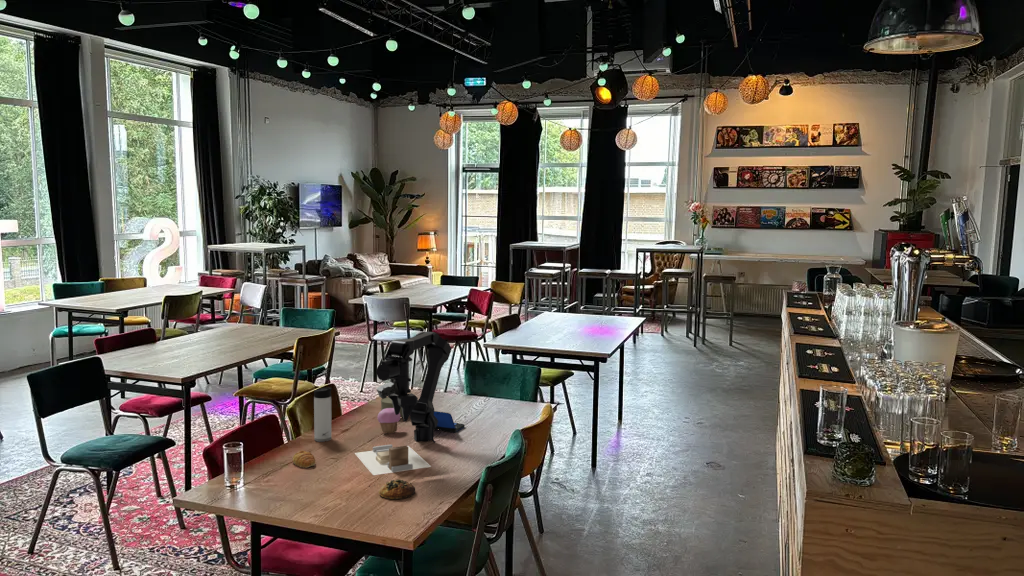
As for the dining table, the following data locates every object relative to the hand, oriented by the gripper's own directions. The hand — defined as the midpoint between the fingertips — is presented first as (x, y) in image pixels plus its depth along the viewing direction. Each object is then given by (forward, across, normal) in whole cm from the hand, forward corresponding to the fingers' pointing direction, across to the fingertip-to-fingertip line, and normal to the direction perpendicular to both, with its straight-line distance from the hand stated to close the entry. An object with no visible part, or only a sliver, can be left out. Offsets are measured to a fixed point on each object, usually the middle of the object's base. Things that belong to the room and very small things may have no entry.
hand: (401, 417), depth 252 cm
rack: (+13, +8, -6) cm, 16 cm away
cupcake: (+13, -24, +3) cm, 28 cm away
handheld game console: (+14, -21, +24) cm, 35 cm away
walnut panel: (+12, +17, -7) cm, 22 cm away
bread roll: (+13, +35, -14) cm, 40 cm away
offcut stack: (+12, +8, -6) cm, 16 cm away
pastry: (+13, -3, -33) cm, 36 cm away
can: (+14, -48, +14) cm, 52 cm away
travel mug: (+13, -27, -22) cm, 37 cm away
